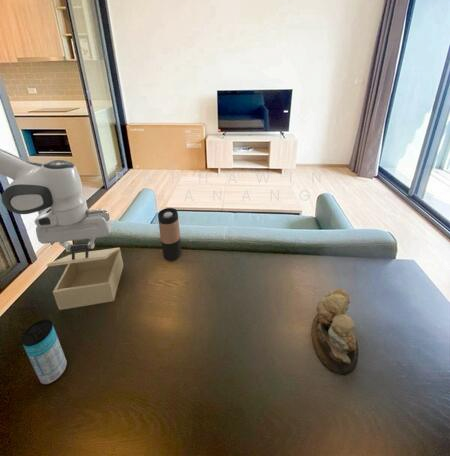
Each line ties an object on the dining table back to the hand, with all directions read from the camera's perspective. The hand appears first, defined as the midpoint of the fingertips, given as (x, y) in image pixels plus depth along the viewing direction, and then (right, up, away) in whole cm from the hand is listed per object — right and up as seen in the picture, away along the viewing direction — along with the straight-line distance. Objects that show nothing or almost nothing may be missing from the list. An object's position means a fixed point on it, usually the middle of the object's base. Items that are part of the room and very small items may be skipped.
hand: (80, 248), depth 78 cm
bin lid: (0, -5, +5) cm, 6 cm away
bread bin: (0, -16, +8) cm, 18 cm away
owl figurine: (+77, -22, -10) cm, 80 cm away
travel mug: (+25, -11, +22) cm, 35 cm away
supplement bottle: (+3, -25, -16) cm, 30 cm away
